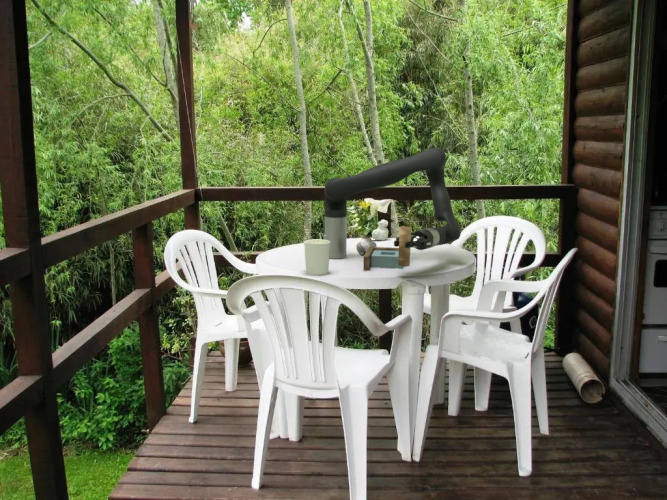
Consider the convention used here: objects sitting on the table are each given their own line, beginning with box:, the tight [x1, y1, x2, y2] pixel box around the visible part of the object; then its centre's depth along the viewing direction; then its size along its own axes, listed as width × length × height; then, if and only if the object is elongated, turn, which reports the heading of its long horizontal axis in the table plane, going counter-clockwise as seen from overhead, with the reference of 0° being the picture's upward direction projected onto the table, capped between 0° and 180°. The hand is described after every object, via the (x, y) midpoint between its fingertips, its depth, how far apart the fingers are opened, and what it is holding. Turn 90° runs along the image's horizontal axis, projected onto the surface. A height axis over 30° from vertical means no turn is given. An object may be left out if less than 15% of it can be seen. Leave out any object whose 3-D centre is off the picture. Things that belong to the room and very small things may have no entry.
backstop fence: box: [363, 246, 399, 271], centre depth 260 cm, size 16×20×6 cm
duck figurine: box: [371, 219, 390, 242], centre depth 317 cm, size 12×8×11 cm
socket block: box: [370, 250, 404, 270], centre depth 261 cm, size 12×12×5 cm
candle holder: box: [303, 238, 330, 276], centre depth 246 cm, size 10×10×12 cm
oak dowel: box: [398, 226, 412, 267], centre depth 239 cm, size 4×4×14 cm
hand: (400, 244), depth 237 cm, fingers closed on oak dowel, 4 cm apart
